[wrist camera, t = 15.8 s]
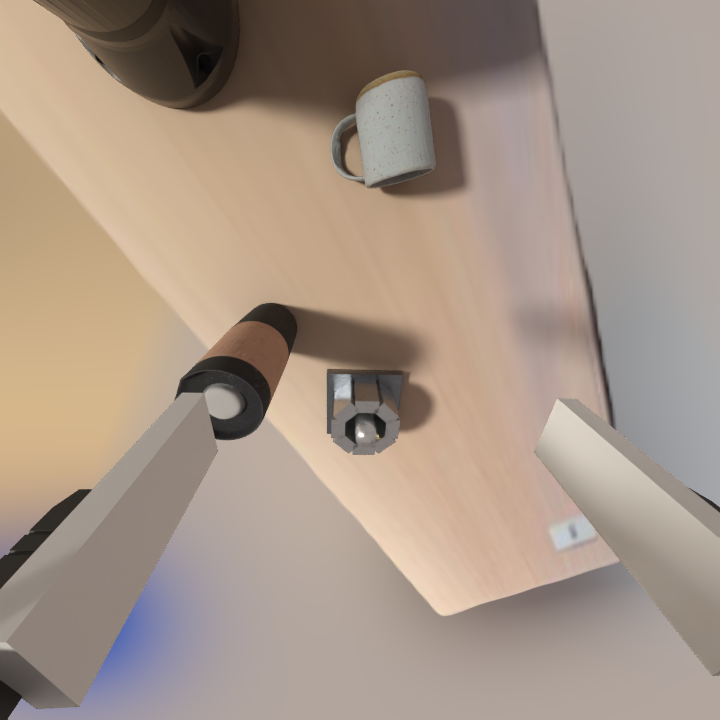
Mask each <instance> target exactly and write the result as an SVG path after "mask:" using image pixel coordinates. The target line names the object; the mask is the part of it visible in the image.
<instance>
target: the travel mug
mask: <svg viewBox="0 0 720 720" xmlns="http://www.w3.org/2000/svg"><path fill="white" fill-rule="evenodd" d="M296 333H297V325H296V321H295V319H294V317H293V315H292V314H291V313H290V312H289V311H288V310H287V309H286V308H284V307H283V306H281V305H278V304H274V303H266V304H261V305H259V306H257V307H256V308H254V309H253V310H252V311H251V312H249V313H248V314H247V315H246V316H245V317H244V318H243V319H241V320H240V321H239V322H238V323H237V324H236V325H234V326H233V327H232V328H231V329H230V330H229V331H228V332H227V333H226V334H225V335H224V336H223V337H222V338H221V339H220V340H219V341H218V342H217V343H216V344H215V345H214V346H213V347H212V348H211V349H210V350H209V351H208V352H207V354H206V355H205V356H204V357H203V358H202V359H201V360H200V361H199V362H198V363H197V364H196V365H195V366H194V367H193V368H192V369H191V370H190V371H189V372H188V373H187V374H186V375H185V376H183V377H182V378H181V380H180V383H179V387H178V390H177V394H176V397H175V400H176V399H177V398H178V396H179V395H180V394H181V393H205V398H206V402H207V406H208V411H209V415H210V419H211V424H212V428H213V432H214V436H215V439H219V440H235V439H240V438H243V437H246V436H247V435H249V434H251V433H252V432H254V431H255V430H256V429H257V428H258V427H259V425H260V424H261V422H262V420H263V418H264V416H265V414H266V411H267V409H268V407H269V404H270V402H271V400H272V397H273V395H274V392H275V390H276V388H277V385H278V383H279V381H280V378H281V376H282V373H283V371H284V369H285V366H286V364H287V361H288V358H289V355H290V352H291V349H292V346H293V343H294V340H295V337H296ZM175 400H174V401H175Z"/></svg>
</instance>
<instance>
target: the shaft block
mask: <svg viewBox="0 0 720 720" xmlns="http://www.w3.org/2000/svg"><path fill="white" fill-rule="evenodd" d="M354 379H369V380H376V384H377V383H378V382H379V381H380V382H381V383H382V384H383V385H384V386H385V387H386V388H387V389H388V390H389V391H390V392H391V393H392V394H393V396H394V399H395V403H396V406H397V410H399V403H400V395H401V388H402V380H403V374H402V371H389V370H342V369H327V434H331V419H332V405H333V396H335V392H337V391H338V390H339V389H340V388H342V387H343V386H344V385H345V384H347V383H348V382H349V381H351V382H352V383H353V384H354ZM375 415H377V414H376V413H357V414H356V415H355V416H353V417H352V418H354V419H355V433H356V443H357V444H358V445H359V446H361V447H364V448H368V447H371V446H373V445H374V444H375V443H376V441H377V435H376V428H375V421H374V416H375Z"/></svg>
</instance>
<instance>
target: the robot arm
mask: <svg viewBox="0 0 720 720" xmlns="http://www.w3.org/2000/svg"><path fill="white" fill-rule="evenodd" d="M34 1H35V2H37V3H38V4H40V5H41V6H43V7H44V8H46V9H47V10H49V11H50V12H52V13H53V14H55V15H56V16H58V17H59V18H61V19H62V20H63V21H64V22H65V24H66V25H67V26H68V27H69V28H70V29H71V30H72V31H73V32H74V33H75V34H76V36H77V37H78V39H79V40H80V42H81V43H82V44H83V46H84V47H85V48H86V49H87V51H88V52H89V53H90V54H91V56H92V57H93V58H94V59H95V60H96V61H97V62H98V63H99V64H100V65H101V66H102V67H103V69H105V70H106V71H107V72H108V73H109V74H110V75H111V76H112V77H114V78H115V79H116V80H117V81H118V82H120V83H121V84H123V85H124V86H125V87H127V88H129V89H130V90H132V91H133V92H135V93H137V94H139V95H140V96H142V97H144V98H146V99H147V100H149V101H152V102H154V103H156V104H159V105H162V106H166V107H171V108H189V107H194V106H197V105H200V104H202V103H204V102H206V101H208V100H209V99H211V98H212V97H213V96H214V95H216V94H217V93H218V92H219V90H220V89H221V88H222V87H223V85H224V84H225V82H226V81H227V79H228V77H229V75H230V73H231V71H232V68H233V65H234V62H235V59H236V54H237V49H238V41H239V15H238V6H237V0H34ZM217 452H218V449H217V445H216V441H215V436H214V432H213V428H212V424H211V419H210V415H209V411H208V406H207V402H206V398H205V393H181V394H180V395H179V396H178V398H177V399H176V400H175V401H174V402H173V403H172V404H171V405H170V406H169V407H168V409H167V410H165V412H164V413H163V414H162V415H161V416H160V417H159V418H158V419H157V420H156V421H155V423H154V424H153V425H152V426H151V427H150V428H149V429H148V430H147V431H146V432H145V433H144V434H143V435H142V436H141V438H140V439H139V440H138V441H137V442H136V443H135V444H134V445H133V446H132V447H131V448H130V450H129V451H128V452H127V453H126V454H125V455H124V456H123V457H122V458H121V459H120V460H119V461H118V462H117V463H116V465H115V466H114V467H113V468H112V469H111V470H110V471H109V472H108V473H107V474H106V475H105V476H104V478H103V479H102V480H101V481H100V482H99V483H98V484H97V485H96V486H95V487H94V488H93V489H90V490H89V489H81V490H78V491H76V492H75V493H74V494H72V495H70V496H69V497H68V498H66V499H65V500H63V501H62V502H60V503H59V504H57V505H56V506H54V507H53V508H52V509H51V510H50V511H49V512H48V513H47V514H46V515H45V516H44V517H43V518H42V519H41V520H40V521H39V522H38V523H37V524H36V525H35V526H34V527H33V528H32V529H31V530H30V533H29V534H28V535H24V536H23V537H22V538H21V539H20V541H18V543H16V544H15V546H13V547H12V549H10V553H9V554H8V555H4V556H3V558H1V559H0V720H8V717H9V716H10V714H11V713H12V711H13V710H14V708H15V707H16V705H17V704H18V702H19V701H20V699H21V698H23V699H24V700H25V701H26V702H28V703H29V704H31V705H32V706H33V707H35V708H36V709H44V708H63V707H79V706H80V704H81V703H82V701H83V698H84V697H85V695H86V693H87V692H88V690H89V688H90V686H91V684H92V682H93V680H94V679H95V677H96V675H97V673H98V671H99V669H100V667H101V666H102V664H103V662H104V660H105V658H106V656H107V655H108V653H109V651H110V649H111V647H112V645H113V644H114V642H115V640H116V638H117V636H118V634H119V633H120V631H121V629H122V627H123V625H124V623H125V622H126V620H127V618H128V616H129V614H130V612H131V610H132V609H133V607H134V605H135V603H136V601H137V599H138V598H139V596H140V594H141V592H142V590H143V588H144V586H145V585H146V583H147V581H148V579H149V577H150V575H151V574H152V572H153V570H154V568H155V566H156V564H157V563H158V561H159V559H160V557H161V555H162V553H163V551H164V549H165V548H166V546H167V544H168V542H169V540H170V538H171V537H172V535H173V533H174V531H175V529H176V528H177V525H178V524H179V522H180V520H181V518H182V516H183V515H184V513H185V511H186V509H187V507H188V505H189V503H190V502H191V500H192V498H193V496H194V494H195V492H196V491H197V489H198V487H199V485H200V483H201V481H202V480H203V478H204V476H205V474H206V472H207V470H208V468H209V467H210V465H211V463H212V461H213V459H214V457H215V456H216V454H217ZM534 453H535V454H536V455H537V456H538V458H539V459H540V460H541V462H542V463H543V464H544V465H545V467H546V468H547V469H548V470H549V472H550V473H551V474H552V475H553V477H554V478H555V479H556V480H557V482H558V483H559V484H560V485H561V487H562V488H563V489H564V490H565V492H566V493H567V494H568V495H569V497H570V498H571V499H572V500H573V502H574V503H575V504H576V505H577V507H578V508H579V509H580V510H581V512H582V513H583V514H584V515H585V517H586V518H587V519H588V520H589V522H590V523H591V524H592V526H593V527H594V528H595V529H596V531H597V532H598V533H599V534H600V536H601V537H602V538H603V539H604V541H605V542H606V543H607V544H608V546H609V547H610V548H611V549H612V551H613V552H614V553H615V554H616V556H617V557H618V558H619V559H620V561H621V562H622V563H623V564H624V566H625V567H626V568H627V569H628V570H629V572H630V573H631V574H632V576H633V577H634V578H635V579H636V581H637V582H638V583H639V584H640V586H641V587H642V588H643V589H644V591H645V592H646V593H647V595H648V596H649V597H650V598H651V600H652V601H653V602H654V603H655V604H656V606H657V607H658V608H659V610H660V611H661V612H662V613H663V615H664V616H665V617H666V618H667V620H668V621H669V622H670V623H671V625H672V626H673V627H674V628H675V630H676V631H677V632H678V633H679V635H680V636H681V637H682V638H683V640H684V641H685V642H686V643H687V645H688V646H689V647H690V648H691V650H692V651H693V652H694V654H695V655H696V656H697V657H698V659H699V660H700V661H701V662H702V664H703V665H704V666H705V667H706V669H707V670H708V671H709V672H710V674H711V675H712V676H716V675H720V507H718V506H717V505H716V504H714V503H713V502H712V501H710V500H709V499H707V498H705V497H703V496H702V495H700V494H698V493H697V492H695V491H693V490H691V489H690V488H688V487H687V486H685V485H684V484H683V483H682V482H680V481H679V480H678V479H676V478H675V477H674V476H673V475H672V474H670V473H669V472H667V470H665V469H664V468H663V467H661V466H660V465H659V464H658V463H656V462H655V461H654V460H653V459H651V458H650V457H649V456H647V455H646V454H645V453H644V452H643V451H641V450H640V449H639V448H637V447H636V446H635V445H634V444H633V443H631V442H630V441H629V440H627V439H626V438H625V437H624V436H622V435H621V434H620V433H619V432H617V431H616V430H615V429H614V428H612V427H611V426H610V425H609V424H607V423H606V422H605V421H604V420H602V419H601V418H600V417H599V416H597V415H596V414H595V413H593V412H592V411H591V410H590V409H588V408H587V407H586V406H585V405H583V404H582V403H581V402H580V401H578V400H577V399H557V401H556V403H555V405H554V407H553V410H552V412H551V414H550V417H549V419H548V421H547V424H546V426H545V428H544V431H543V433H542V435H541V438H540V440H539V442H538V445H537V447H536V449H535V451H534Z"/></svg>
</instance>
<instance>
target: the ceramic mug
mask: <svg viewBox="0 0 720 720" xmlns="http://www.w3.org/2000/svg"><path fill="white" fill-rule="evenodd" d="M354 122H356V123H357V130H358V136H359V142H360V148H361V158H362V164H363V172H364V175H363V176H361V177H355V176H351V175H349V174H347V173H346V172H345V171H344V169H343V167H342V162H341V154H340V147H341V143H340V141H339V140H340V137H341V135H342V133H343V131H344V130H345V129H346V128H347V127H348V126H349V125H351V124H352V123H354ZM331 157H332V162H333V165H334V167H335V169H336V170H337V172H338V173H339V174H340V175H341V176H343V177H344V178H346V179H349V180H353V181H365V186H366V187H367V188H379V187H384V186H388V185H394V184H398V183H401V182H405V181H409V180H412V179H415V178H418V177H421V176H424V175H426V174H428V173H430V172H432V171H433V170H434V169H435V168H436V161H435V153H434V144H433V135H432V127H431V120H430V110H429V101H428V94H427V90H426V86H425V82H424V80H423V78H422V76H421V75H420V74H418V73H416V72H414V71H410V70H402V71H396V72H392V73H389V74H386V75H384V76H381V77H379V78H377V79H375V80H373V81H372V82H370V83H369V84H367V85H366V86H365V87H364V88H363V89H362V90H361V91H360V93H359V95H358V97H357V99H356V113H355V114H351V115H349V116H347V117H346V118H344V119H342V120H341V121H340V123H339V124H338V125H337V126H336V128H335V130H334V132H333V135H332V138H331Z"/></svg>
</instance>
